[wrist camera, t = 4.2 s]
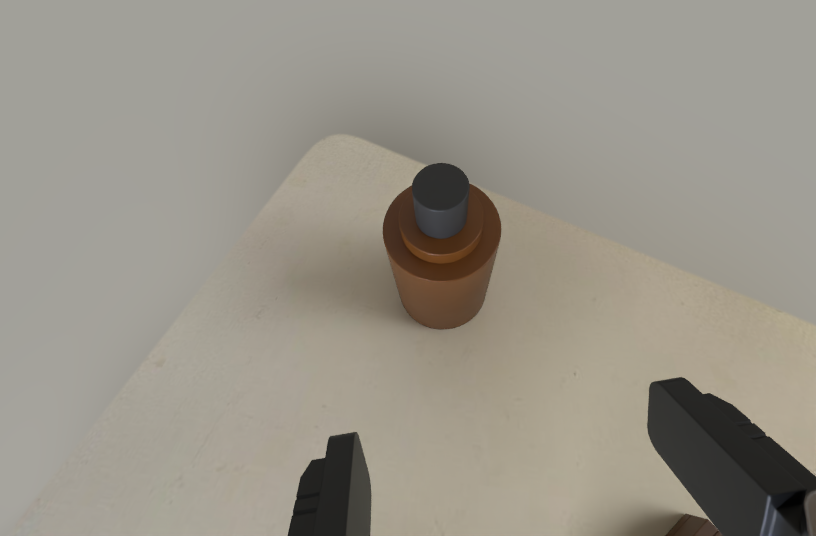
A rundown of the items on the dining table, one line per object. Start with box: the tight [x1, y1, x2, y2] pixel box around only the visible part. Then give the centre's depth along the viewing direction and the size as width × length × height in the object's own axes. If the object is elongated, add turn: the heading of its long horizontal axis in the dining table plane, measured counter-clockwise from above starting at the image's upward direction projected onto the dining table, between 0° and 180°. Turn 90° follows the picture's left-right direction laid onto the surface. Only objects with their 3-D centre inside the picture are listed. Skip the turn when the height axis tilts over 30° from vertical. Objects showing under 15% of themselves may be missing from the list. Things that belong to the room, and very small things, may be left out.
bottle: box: [383, 163, 501, 329], centre depth 23 cm, size 6×6×12 cm
